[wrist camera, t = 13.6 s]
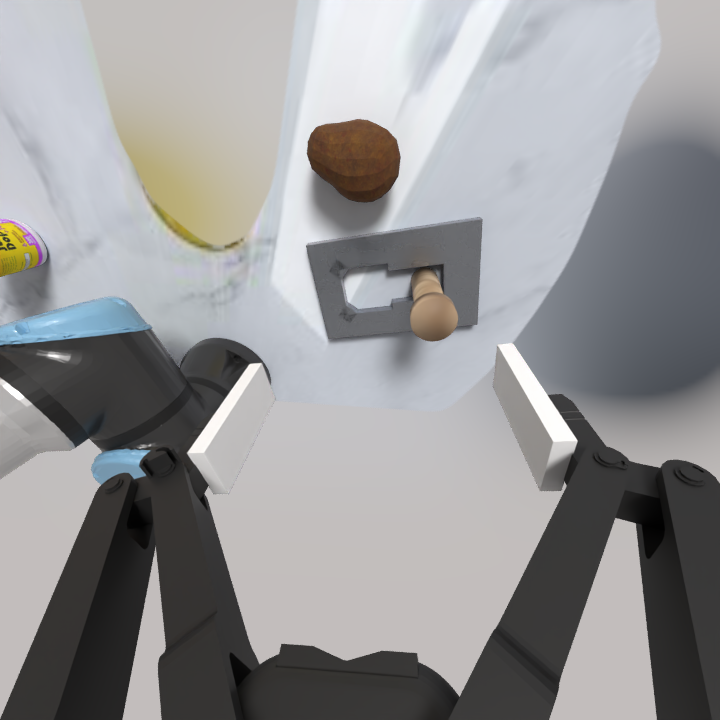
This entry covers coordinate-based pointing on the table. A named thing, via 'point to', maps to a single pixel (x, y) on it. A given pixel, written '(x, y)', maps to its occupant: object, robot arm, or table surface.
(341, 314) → the keyhole plate
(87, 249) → the table surface
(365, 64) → the table surface
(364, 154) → the potato
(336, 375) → the table surface
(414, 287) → the peg
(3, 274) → the supplement bottle
